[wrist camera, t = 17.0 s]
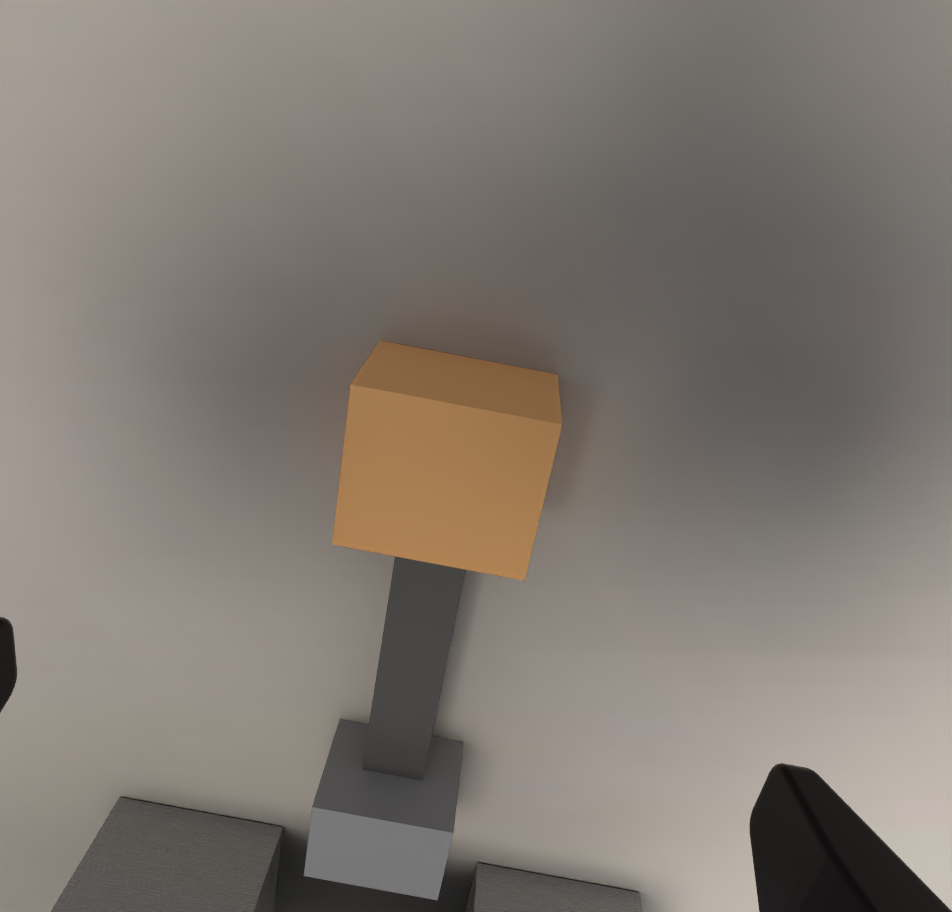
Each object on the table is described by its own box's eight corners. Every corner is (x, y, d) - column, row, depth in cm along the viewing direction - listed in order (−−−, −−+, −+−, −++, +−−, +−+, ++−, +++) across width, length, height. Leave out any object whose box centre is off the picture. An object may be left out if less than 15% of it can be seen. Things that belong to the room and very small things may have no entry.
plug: (457, 806, 23) (447, 902, 20) (322, 781, 23) (293, 873, 20) (557, 374, 17) (562, 424, 14) (379, 340, 17) (350, 384, 14)
